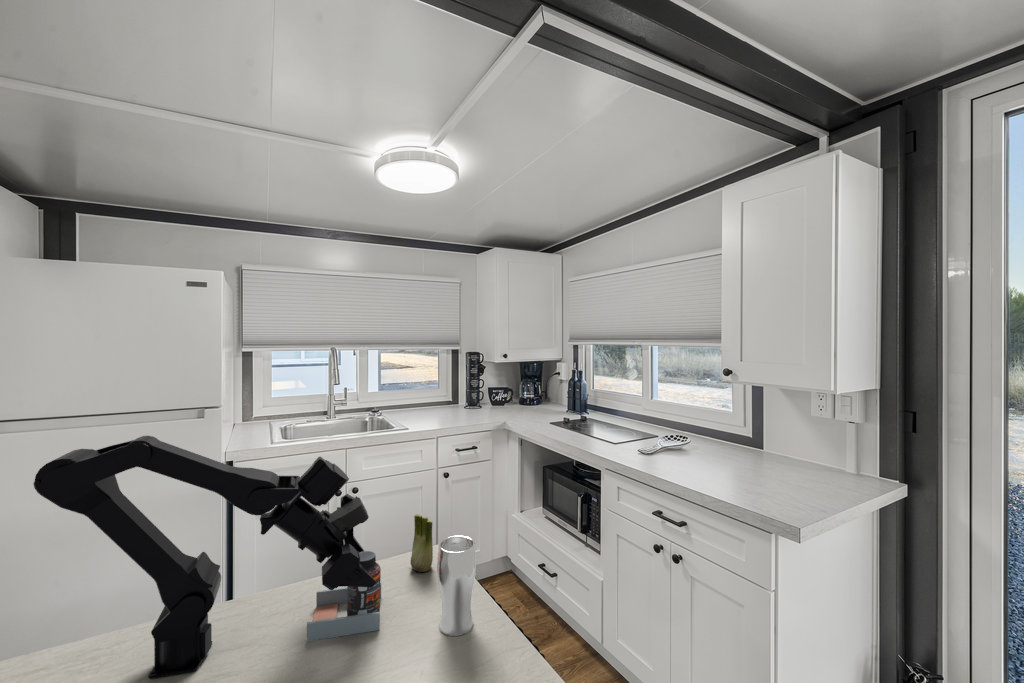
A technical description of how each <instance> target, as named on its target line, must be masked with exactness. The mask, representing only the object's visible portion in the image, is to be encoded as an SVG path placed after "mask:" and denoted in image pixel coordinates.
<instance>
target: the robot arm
mask: <svg viewBox="0 0 1024 683" xmlns="http://www.w3.org/2000/svg"><path fill="white" fill-rule="evenodd" d="M135 468H142V469H145V470H147V471H150V472H153V473H156V474H158V475H162V476H165V477H168V478H171V479H174V480H177V481H180V482H183V483H186V484H189V485H192V486H196V487H198V488H201V489H205V490H208V491H210V492H213V493H216V494H217V495H219V496H221V497H223V498H224V499H225V500H226V501H227V502H228V503H230V505H232V506H234V507H236V508H237V509H240V510H241V511H243V512H245V513H247V514H249V515H250V516H260V517H259V521H260V526H261V527H260V535H262V536H264V535H266V533H268V532H269V531H270V529H271V528H273V526H275V527H276V528H278V529H279V530H280V531H282V532H283V533H284V534H285V535H287V536H289V537H290V538H291V539H292V540H294V541H295V542H297V543H298V544H297V548H298V549H300V550H301V551H304V550H305V549H307V550H308V551H310V552H311V553H312V554H314V555H316V561H317V562H318V563H320V564H322V563H323V562H324V561H325V559H326V558H327V560H326V562H325V563H324V564H323V565H321V582H322V583H321V585H322V586H324V587H325V588H327V590H333V589H336V588H344V587H347V586H353V587H371V588H372V587H373V586H374V585H375V584H376V581H375V580H374V578H373V577H372V576H371V575H370V574H369V573H368V572H367V571H366V570H365V569H364V567H363V566H362V565H361V564H360V555H359V553H360V552H363V551H365V549H364V548H363V546H361V544H360V543H359V541H358V540H357V538H356V537H355V536H354V535H355V534H354V528H355V527H356V526H359V525H360V524H364V523H365V522H367V521H368V519H369V513H368V511H367V509H366V506H365V505H364V504H363V501H362V499H361V497H360V496H359V497H358V496H355V497H354V496H352V495H351V494H349V493H347V494H345V495H343V496H341V497H340V506H337V507H336V510H334V511H333V512H329V511H328V510H327V509H325V510H324V509H322V510H321V511H320V510H318V509H317V508H315V507H317V506H318V507H321V506H322V505H324V506H325V505H327V504H328V503H329V502H330V501H331V499H332V498H334V496H335V495H337V493H338V492H339V491H340V490H341V489H342V488H343V487H344V486H345V485H346V484H347V483H348V481H349V480H350V478H349V476H348V474H346V473H345V472H344V470H342V469H341V468H340V467H339V466H338V464H337V465H336V464H335V463H332V462H331V461H329V460H327V459H324V458H323V457H322V456H318V457H317V458H316V459H315V460H314V461H313V462H312V465H310V467H309V468H308V469H307V470H306V471H305V472H304V473H303V474H301V476H300V475H278V474H277V473H275V472H274V471H270V470H265V469H260V468H254V467H239V466H232V465H228V464H226V463H223V462H221V461H217V460H215V459H211V458H209V457H206V456H203V455H201V454H199V453H195V452H193V451H189V450H187V449H184V448H181V447H178V446H176V445H173V444H170V443H167V442H165V441H163V440H160V439H158V437H155V436H153V435H142V436H139V437H137V438H135V439H132V440H129V441H124V442H120V443H116V444H112V445H108V446H106V447H102V448H98V449H93V448H79V449H74V450H72V451H69V452H67V453H65V454H64V455H61V456H59V457H57V458H55V459H53V460H51V461H49V462H47V463H45V464H44V465H43V466H42V467H40V468H39V470H38V471H37V473H36V474H35V477H34V481H33V488H34V489H35V491H36V492H37V494H39V495H40V496H41V497H43V498H44V499H46V500H47V501H49V502H51V503H52V504H54V505H56V506H57V507H59V508H61V509H64V510H66V511H69V512H74V513H77V514H80V515H83V516H85V517H87V518H88V519H89V520H90V521H91V522H92V523H93V524H94V525H95V526H96V527H97V528H98V529H100V530H101V532H103V533H104V534H105V535H106V536H107V537H108V538H109V539H110V540H111V541H113V542H112V543H114V544H116V546H118V548H120V549H121V550H122V551H123V552H124V553H125V555H127V556H128V557H129V558H130V559H131V560H132V561H134V563H135V564H136V565H138V566H139V567H140V568H141V569H142V570H143V571H144V572H146V574H148V576H149V577H151V579H153V580H154V582H155V584H156V586H157V590H158V593H159V597H160V599H161V602H162V604H163V605H164V606H163V608H162V610H161V612H160V614H159V616H158V619H157V620H156V622H155V624H154V625H153V627H152V629H151V631H150V634H151V636H152V638H153V640H154V645H153V646H154V654H153V655H154V660H153V661H154V666H153V668H152V669H151V671H149V674H148V679H155V678H161V677H167V676H173V675H180V674H187V673H192V672H195V671H197V670H198V669H199V667H200V666H201V664H202V662H203V661H204V659H205V658H206V657H207V655H208V654H209V651H211V649H212V645H213V641H212V623H211V622H209V613H210V611H212V610H211V609H212V608H213V606H214V604H215V601H216V598H217V596H218V592H219V590H220V588H221V583H222V575H221V572H220V571H219V570H220V569H221V565H219V564H217V563H215V562H213V561H212V560H211V559H210V556H209V555H208V553H207V552H205V551H202V552H201V553H200V554H199V555H198V556H197V557H195V556H191V555H188V554H185V553H184V552H183V551H181V550H180V549H179V547H178V546H176V545H175V543H173V542H172V541H171V540H170V539H169V538H168V537H167V536H166V535H165V534H164V533H163V531H161V530H160V529H159V528H158V527H157V526H156V525H155V524H154V522H152V521H151V520H150V519H149V518H148V517H147V516H146V515H145V514H144V513H143V512H142V511H141V510H140V509H139V508H138V507H137V506H136V505H135V504H133V502H132V501H131V500H130V499H128V497H127V496H126V494H125V495H124V494H123V492H122V491H121V489H120V486H119V483H118V480H117V477H116V475H118V474H120V473H123V472H125V471H128V470H132V469H135Z"/></svg>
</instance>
